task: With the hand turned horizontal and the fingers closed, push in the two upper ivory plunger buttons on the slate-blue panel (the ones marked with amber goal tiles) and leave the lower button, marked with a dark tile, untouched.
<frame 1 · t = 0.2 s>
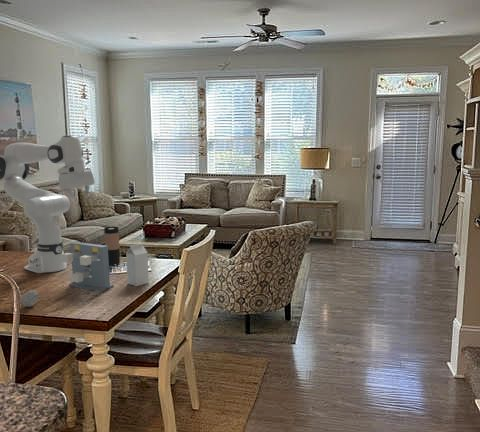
hand: (79, 196, 233), 40 cm above the table, tool pointing down, fingers open, 8 cm apart
button top left: (73, 255, 217), point 15 cm above the table, slide at 0.0 cm
button top right: (91, 258, 212), point 15 cm above the table, slide at 0.0 cm
button bottom: (83, 275, 216), point 6 cm above the table, slide at 0.0 cm
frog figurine: (30, 307, 195), on the table
milk carton: (138, 283, 225), on the table
panel: (91, 286, 221), on the table
travel mug: (113, 264, 260), on the table
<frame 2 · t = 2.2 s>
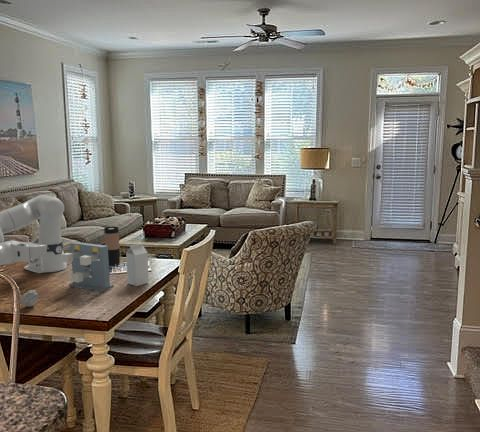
hand: (39, 244, 200), 24 cm above the table, tool horizontal, fingers open, 6 cm apart
nothing on the table moved.
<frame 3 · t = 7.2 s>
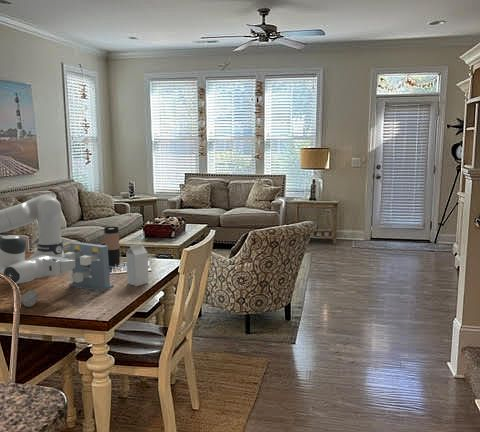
hand: (67, 258, 213), 15 cm above the table, tool horizontal, fingers closed, pressing on button top left
button top left: (75, 255, 218), point 15 cm above the table, slide at 1.4 cm, touching gripper
everything else where it was.
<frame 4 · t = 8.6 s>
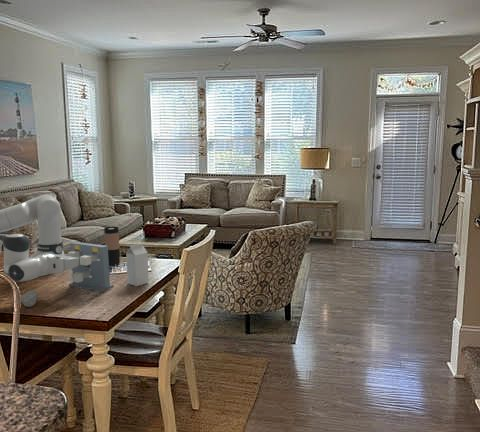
hand: (71, 256, 216), 15 cm above the table, tool horizontal, fingers closed
button top left: (79, 254, 220), point 15 cm above the table, slide at 3.9 cm
everything else where it was.
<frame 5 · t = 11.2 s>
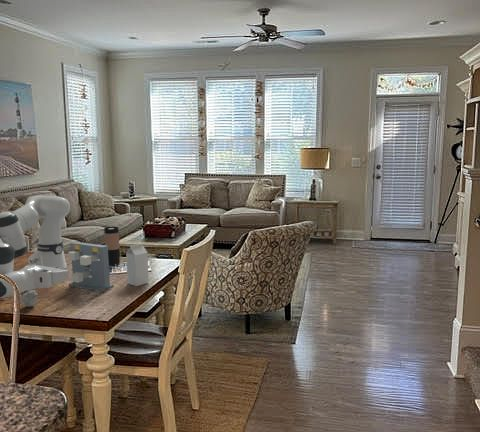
hand: (60, 268, 196), 15 cm above the table, tool horizontal, fingers closed
nothing on the table moved.
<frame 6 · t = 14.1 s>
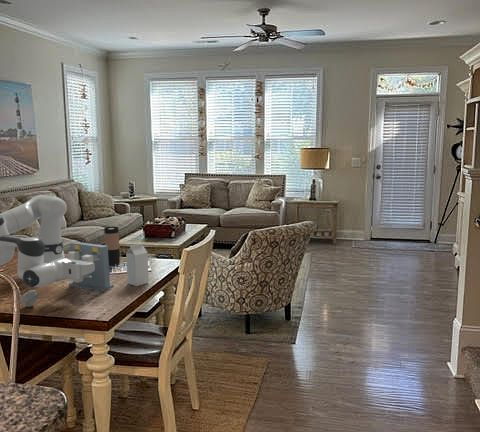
hand: (86, 261, 208), 15 cm above the table, tool horizontal, fingers closed
button top right: (93, 257, 213), point 15 cm above the table, slide at 1.3 cm
everything else where it was.
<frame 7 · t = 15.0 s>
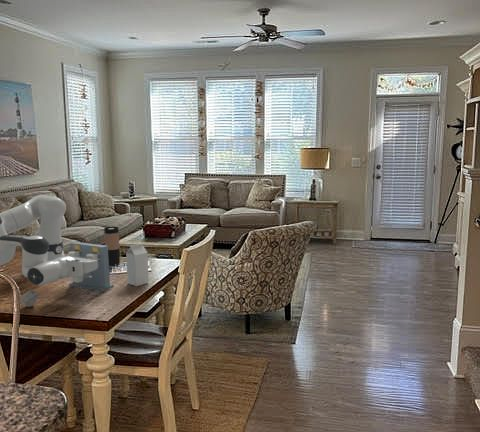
hand: (89, 259, 211), 15 cm above the table, tool horizontal, fingers closed, pressing on button top right
button top right: (97, 256, 215), point 15 cm above the table, slide at 3.9 cm, touching gripper
everything else where it was.
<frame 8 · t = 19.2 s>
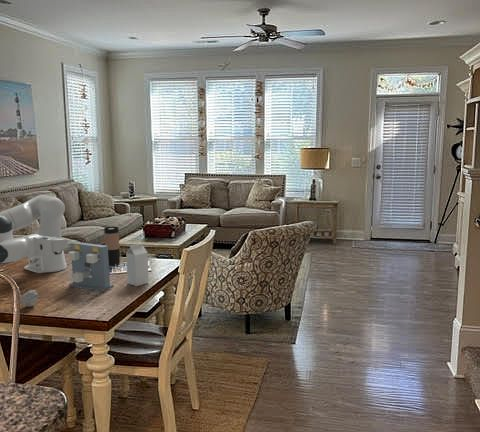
hand: (60, 238, 202), 26 cm above the table, tool horizontal, fingers closed
button top right: (97, 256, 215), point 15 cm above the table, slide at 3.9 cm
everything else where it was.
at the end: button top left slide at 3.9 cm; button top right slide at 3.9 cm; button bottom slide at 0.0 cm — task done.
